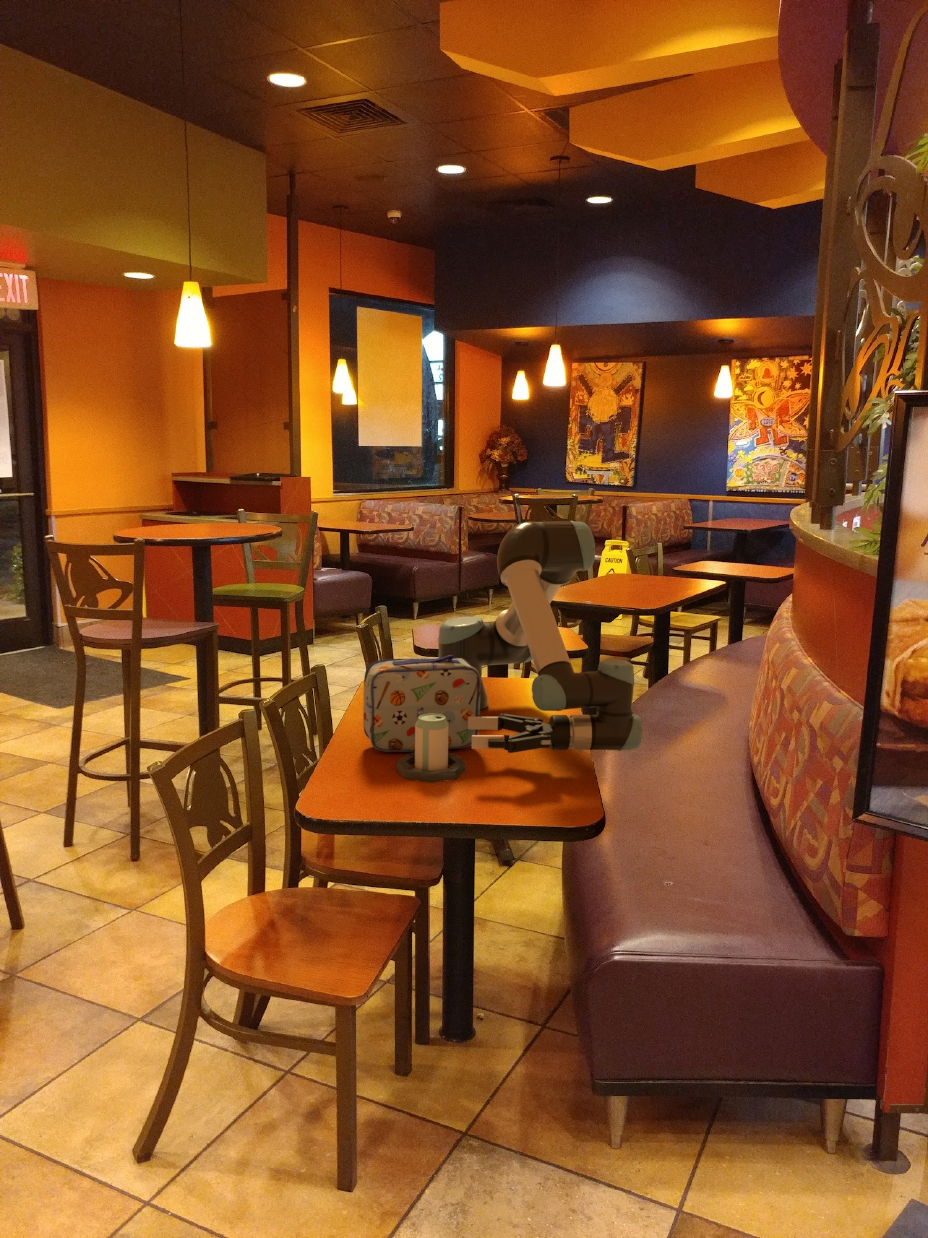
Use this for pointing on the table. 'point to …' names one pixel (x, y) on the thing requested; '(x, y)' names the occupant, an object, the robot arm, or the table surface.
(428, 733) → the can
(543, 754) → the table surface
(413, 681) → the lunch box
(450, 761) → the ring
